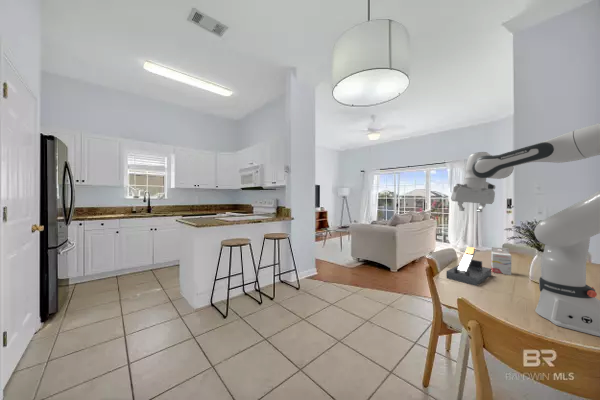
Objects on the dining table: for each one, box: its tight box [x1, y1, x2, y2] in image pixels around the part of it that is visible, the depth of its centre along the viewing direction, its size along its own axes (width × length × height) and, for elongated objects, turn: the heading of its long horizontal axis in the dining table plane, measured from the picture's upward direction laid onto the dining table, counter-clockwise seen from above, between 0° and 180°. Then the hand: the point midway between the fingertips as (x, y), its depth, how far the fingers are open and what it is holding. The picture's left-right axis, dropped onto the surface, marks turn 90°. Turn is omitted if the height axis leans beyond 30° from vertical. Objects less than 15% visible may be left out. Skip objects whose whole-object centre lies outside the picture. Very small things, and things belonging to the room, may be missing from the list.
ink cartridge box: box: [490, 246, 512, 276], centre depth 133 cm, size 9×5×15 cm, turn 58°
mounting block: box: [446, 259, 492, 287], centre depth 128 cm, size 14×24×8 cm, turn 125°
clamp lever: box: [457, 246, 477, 274], centre depth 126 cm, size 4×19×2 cm
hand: (470, 211), depth 114 cm, fingers open, 8 cm apart
